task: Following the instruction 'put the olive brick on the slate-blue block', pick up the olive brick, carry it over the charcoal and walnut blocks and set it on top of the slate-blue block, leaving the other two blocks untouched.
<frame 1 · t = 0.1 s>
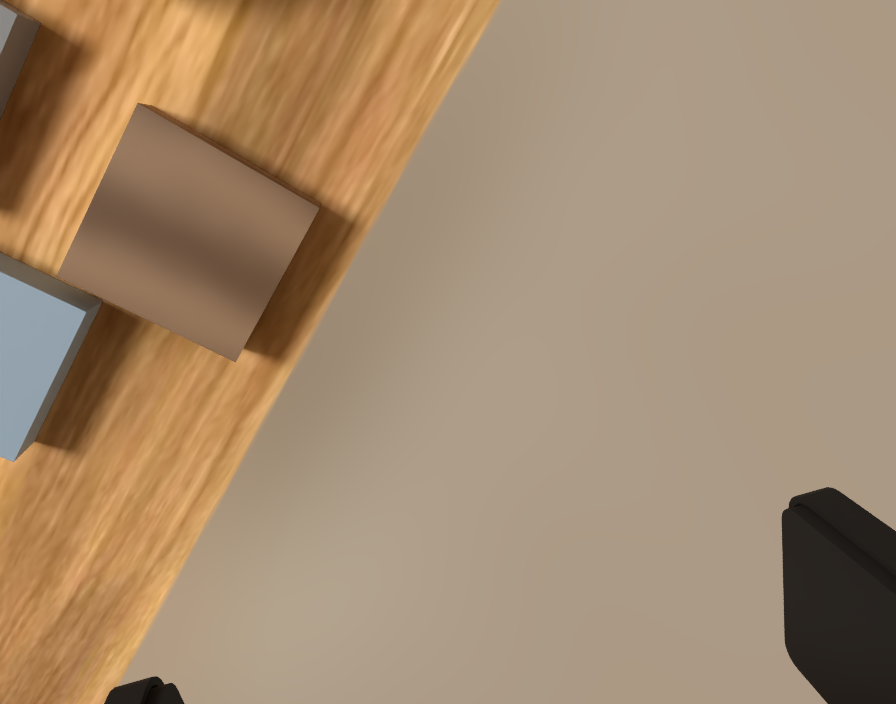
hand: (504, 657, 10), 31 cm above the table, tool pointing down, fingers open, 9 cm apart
walnut block: (201, 233, 37), on the table
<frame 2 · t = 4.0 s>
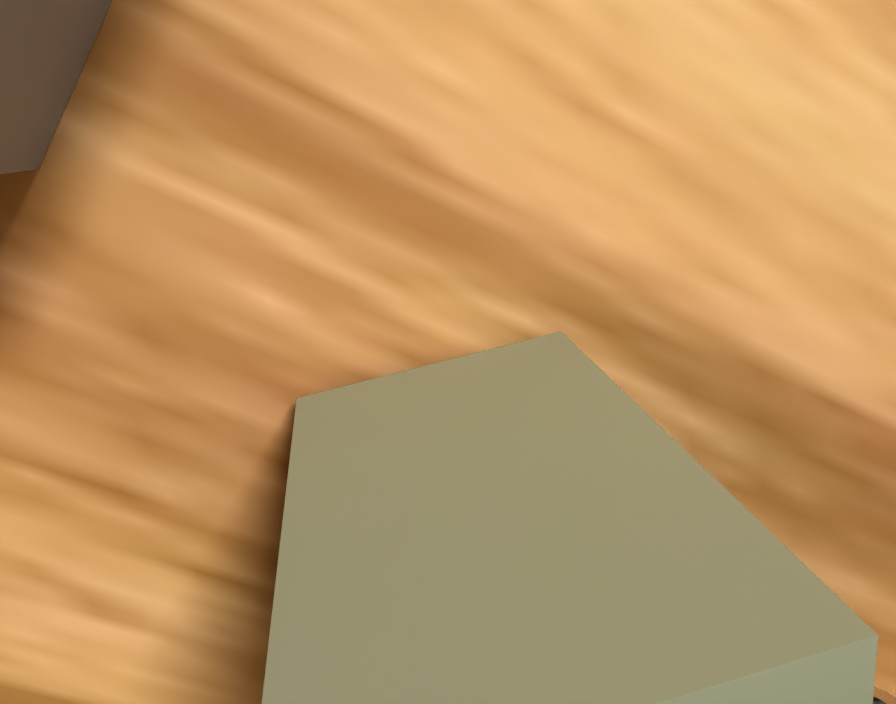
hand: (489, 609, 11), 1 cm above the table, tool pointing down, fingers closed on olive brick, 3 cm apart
olive brick: (479, 575, 11), on the table, touching gripper
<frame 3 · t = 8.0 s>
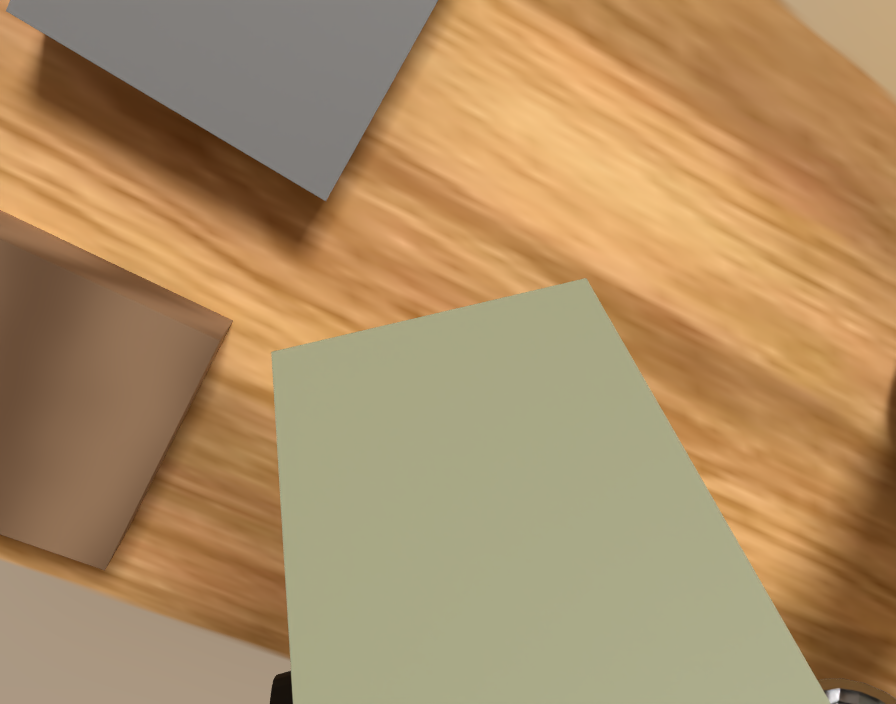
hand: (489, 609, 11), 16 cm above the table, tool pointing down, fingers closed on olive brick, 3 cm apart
olive brick: (459, 479, 11), point 15 cm above the table, tilted 29°, touching gripper
walnut block: (51, 371, 24), on the table
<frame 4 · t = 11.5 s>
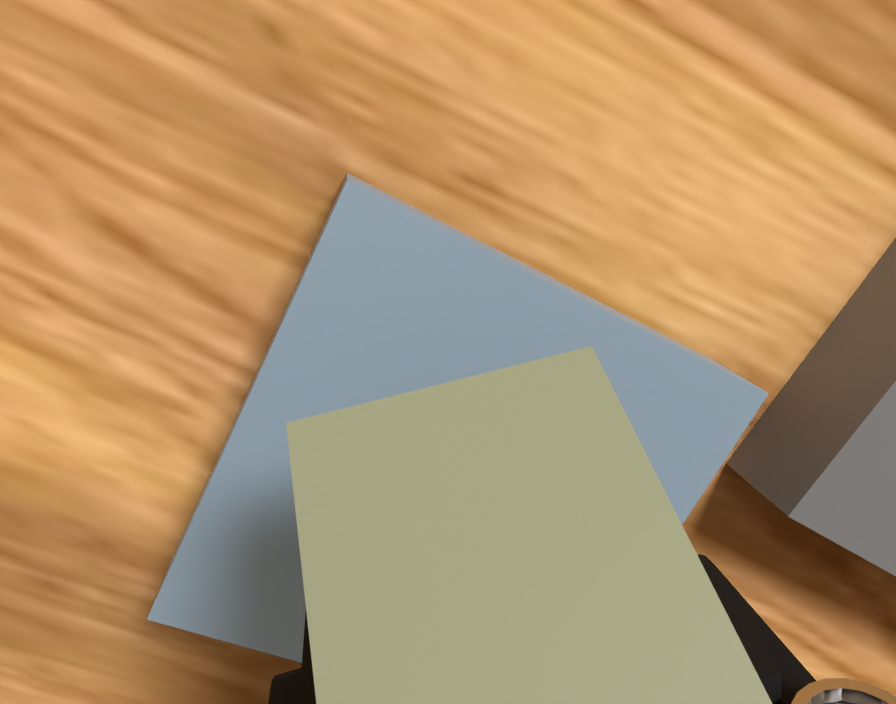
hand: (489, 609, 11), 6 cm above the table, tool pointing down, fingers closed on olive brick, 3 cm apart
slate-blue block: (443, 442, 17), on the table, touching olive brick
olive brick: (461, 513, 11), point 4 cm above the table, tilted 33°, touching gripper, slate-blue block
when the fingers open (5 cm above the table, at t = 12.3 s): olive brick drops 2 cm, point 2 cm above the table.
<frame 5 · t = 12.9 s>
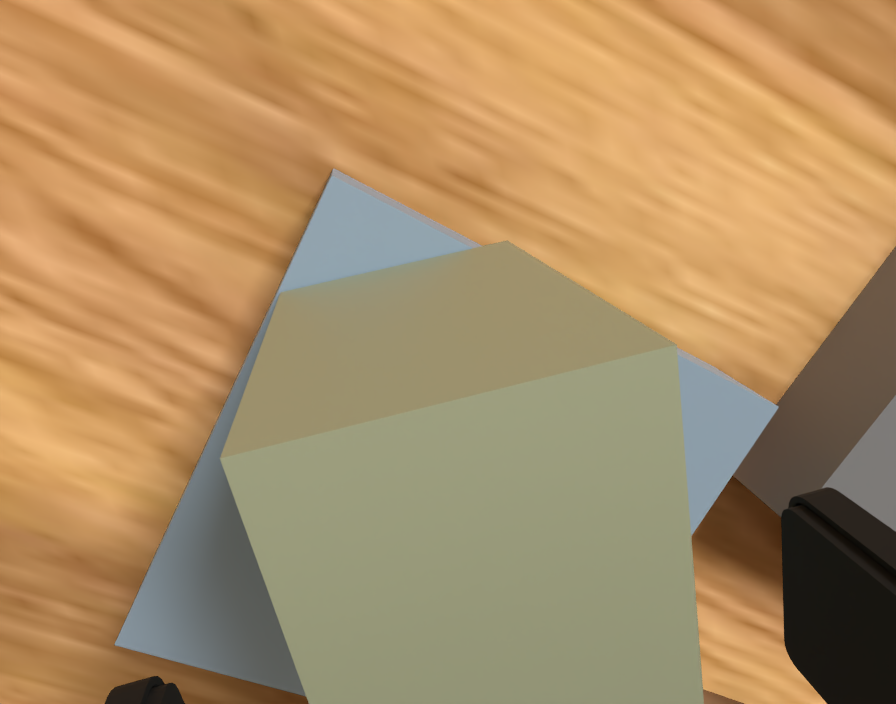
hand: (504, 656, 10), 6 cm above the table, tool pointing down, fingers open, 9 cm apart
slate-blue block: (435, 453, 16), on the table
olive brick: (441, 465, 12), point 2 cm above the table
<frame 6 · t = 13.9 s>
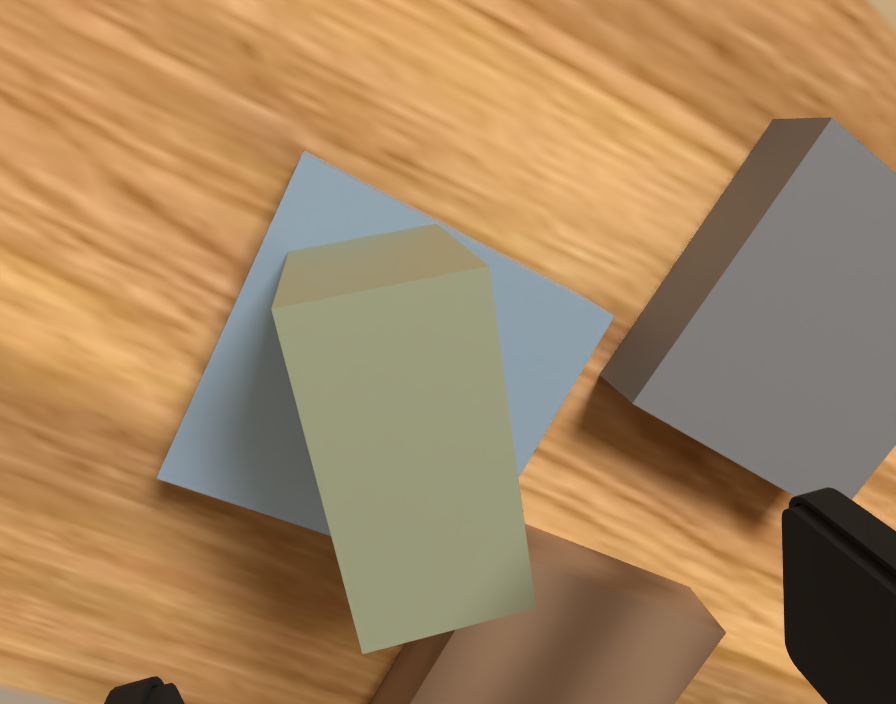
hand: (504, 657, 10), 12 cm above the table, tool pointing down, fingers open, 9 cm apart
slate-blue block: (382, 360, 22), on the table, touching olive brick
olive brick: (391, 373, 19), point 2 cm above the table, touching slate-blue block
charcoal block: (773, 317, 24), on the table
walnut block: (527, 640, 26), on the table
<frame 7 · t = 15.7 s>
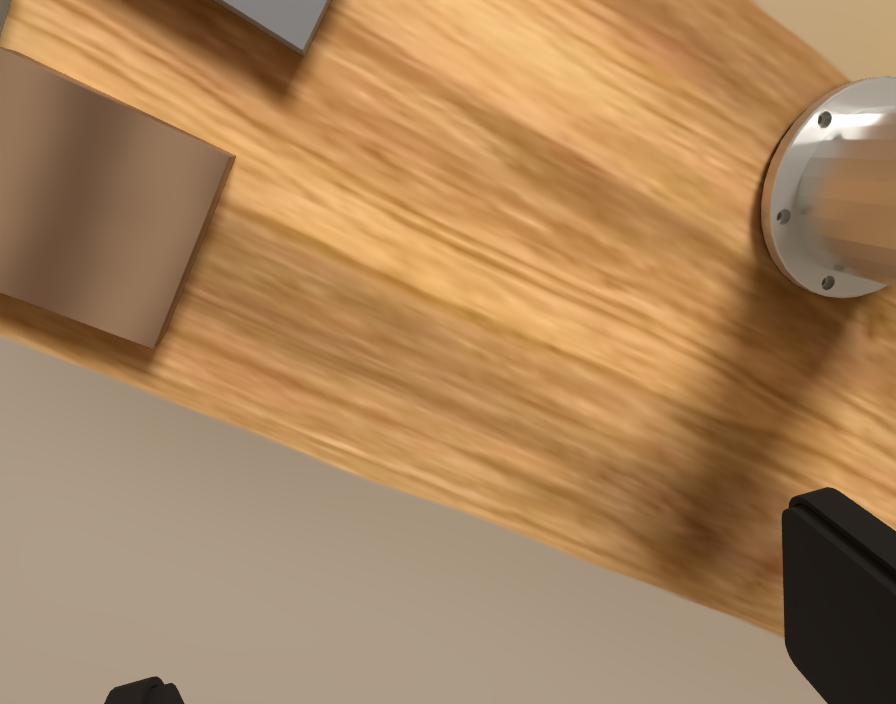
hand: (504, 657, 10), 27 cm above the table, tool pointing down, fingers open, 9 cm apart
walnut block: (100, 203, 32), on the table
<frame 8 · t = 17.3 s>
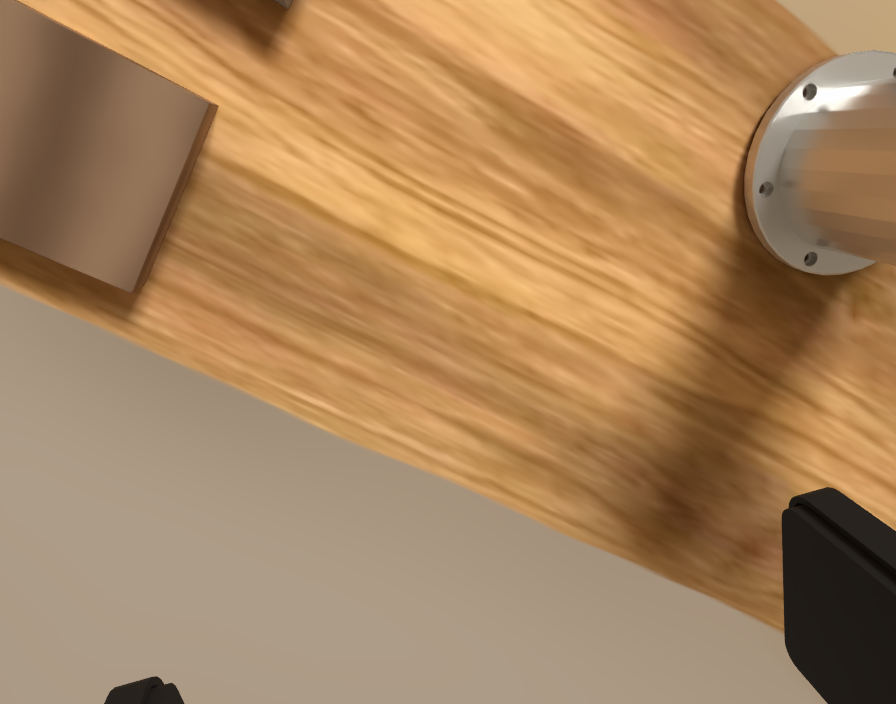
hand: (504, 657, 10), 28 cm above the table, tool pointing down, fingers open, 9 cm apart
walnut block: (84, 149, 32), on the table
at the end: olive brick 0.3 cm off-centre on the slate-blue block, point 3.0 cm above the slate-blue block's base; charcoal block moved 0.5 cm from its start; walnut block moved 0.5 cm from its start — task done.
